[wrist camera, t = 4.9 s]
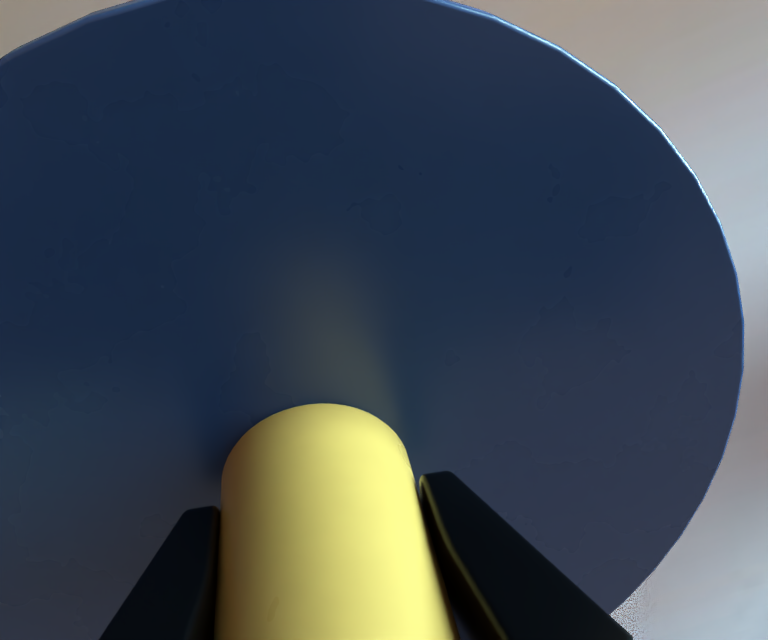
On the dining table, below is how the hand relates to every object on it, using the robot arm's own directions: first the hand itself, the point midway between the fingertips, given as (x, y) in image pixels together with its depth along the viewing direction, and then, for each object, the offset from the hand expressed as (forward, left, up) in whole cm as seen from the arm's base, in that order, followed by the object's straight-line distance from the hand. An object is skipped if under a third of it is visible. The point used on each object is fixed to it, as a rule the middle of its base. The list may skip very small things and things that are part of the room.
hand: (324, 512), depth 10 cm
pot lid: (0, 0, -1) cm, 1 cm away
